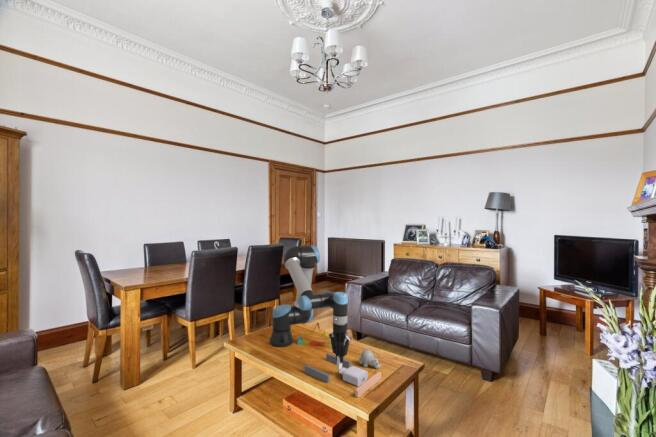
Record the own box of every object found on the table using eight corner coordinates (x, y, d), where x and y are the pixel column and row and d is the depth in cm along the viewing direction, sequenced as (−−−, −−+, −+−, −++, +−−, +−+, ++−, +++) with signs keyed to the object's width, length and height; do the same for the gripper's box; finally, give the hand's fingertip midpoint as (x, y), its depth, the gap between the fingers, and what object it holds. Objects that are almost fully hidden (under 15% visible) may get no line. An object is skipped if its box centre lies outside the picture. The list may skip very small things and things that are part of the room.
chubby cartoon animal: (374, 376, 164) (379, 363, 162) (355, 362, 170) (361, 349, 168) (379, 370, 170) (385, 358, 168) (361, 357, 176) (367, 344, 174)
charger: (343, 370, 165) (367, 379, 156) (333, 377, 158) (357, 387, 148) (343, 361, 165) (367, 370, 156) (333, 367, 158) (357, 377, 148)
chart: (345, 347, 194) (345, 324, 194) (344, 349, 191) (344, 325, 191) (299, 342, 201) (299, 319, 201) (297, 344, 198) (297, 321, 198)
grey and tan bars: (302, 373, 161) (302, 366, 161) (328, 358, 178) (328, 352, 178) (357, 397, 139) (357, 390, 139) (381, 378, 157) (381, 371, 157)
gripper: (325, 321, 161) (325, 366, 161) (346, 327, 152) (345, 375, 153) (334, 318, 166) (334, 361, 167) (354, 323, 158) (353, 369, 158)
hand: (339, 368), depth 160 cm, fingers closed
